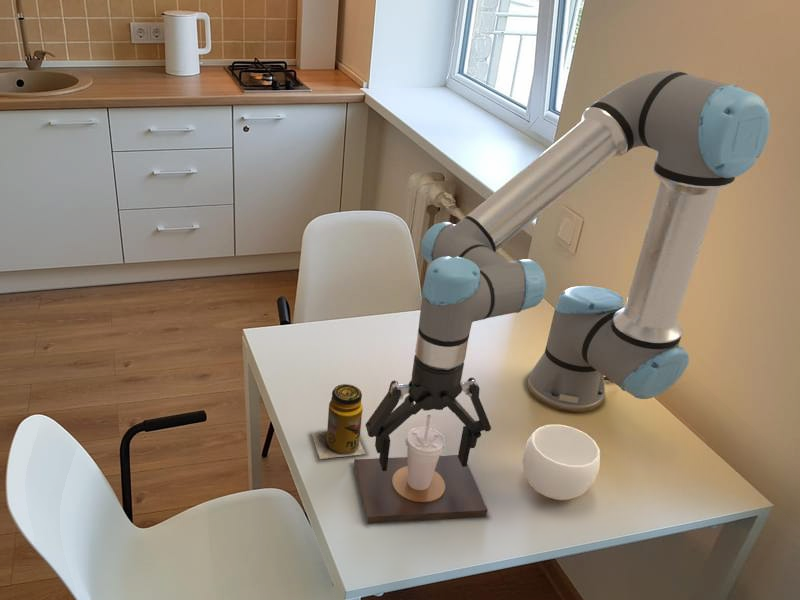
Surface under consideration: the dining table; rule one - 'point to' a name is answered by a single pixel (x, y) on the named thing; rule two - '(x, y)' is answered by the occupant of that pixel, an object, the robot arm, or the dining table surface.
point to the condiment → (342, 424)
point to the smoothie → (423, 455)
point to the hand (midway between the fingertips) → (422, 463)
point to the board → (417, 491)
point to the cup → (561, 461)
